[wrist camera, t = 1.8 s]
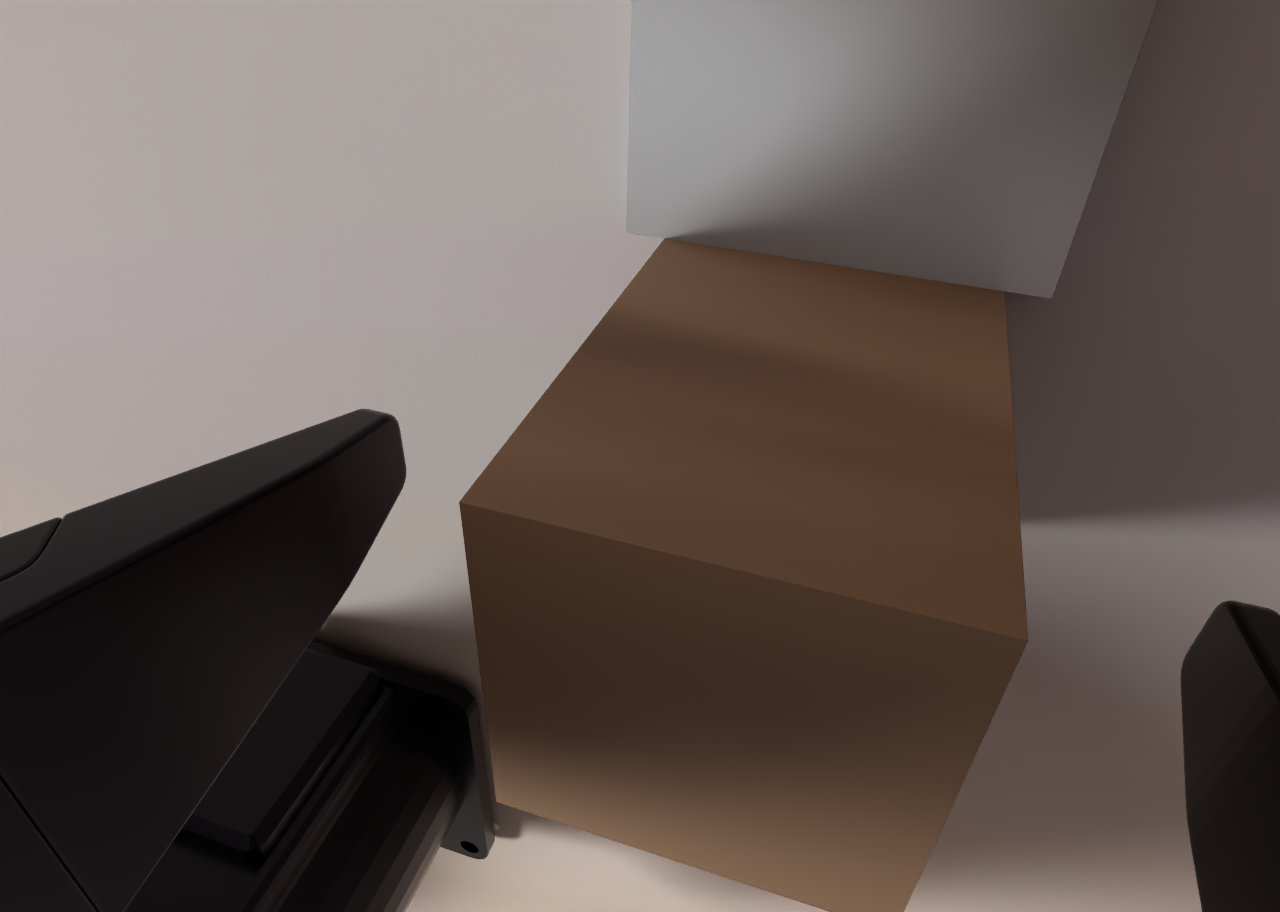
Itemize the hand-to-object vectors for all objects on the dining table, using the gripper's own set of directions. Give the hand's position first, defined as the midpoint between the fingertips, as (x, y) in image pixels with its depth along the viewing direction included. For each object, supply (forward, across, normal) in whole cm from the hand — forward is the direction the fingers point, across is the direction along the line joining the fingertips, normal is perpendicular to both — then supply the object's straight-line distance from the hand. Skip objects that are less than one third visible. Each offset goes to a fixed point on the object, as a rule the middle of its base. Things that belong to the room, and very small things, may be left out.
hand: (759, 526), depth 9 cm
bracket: (+3, 0, -4) cm, 5 cm away
